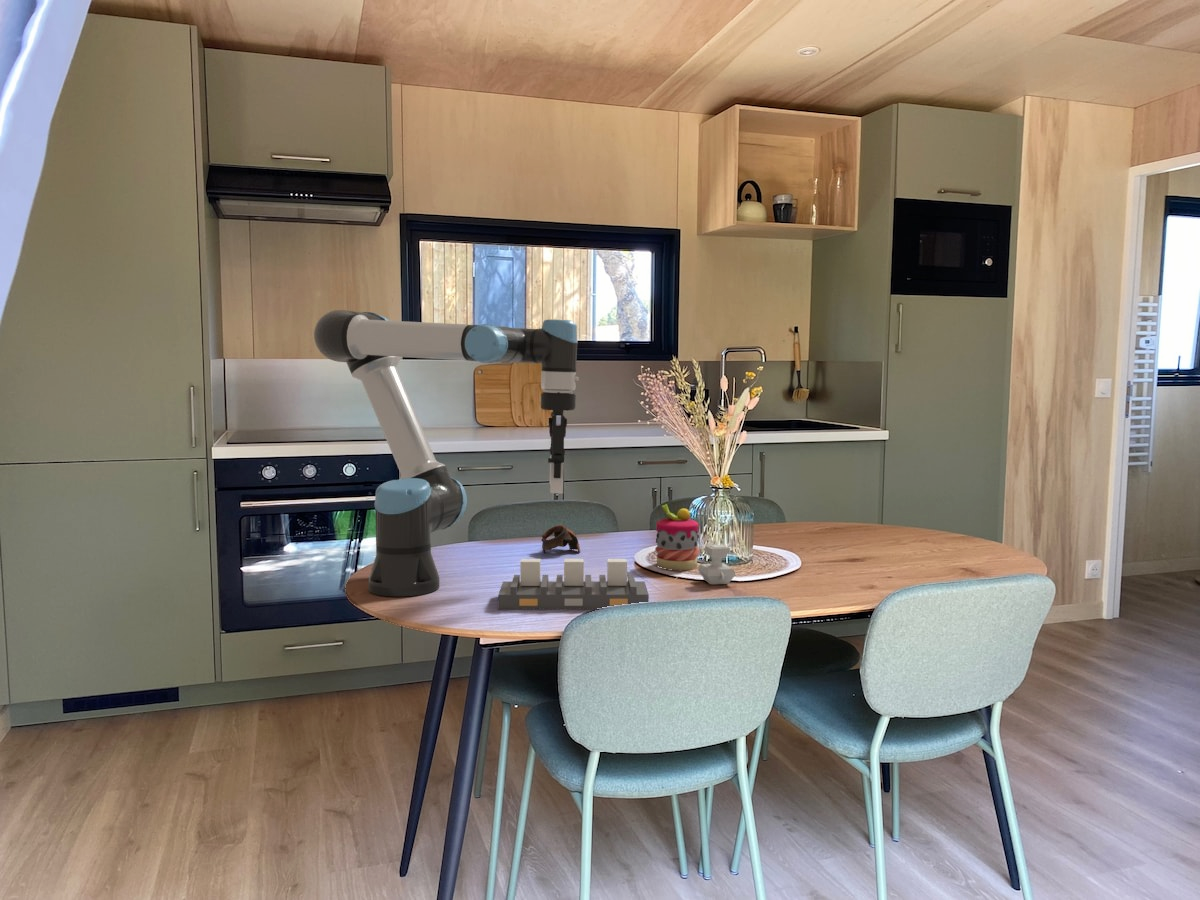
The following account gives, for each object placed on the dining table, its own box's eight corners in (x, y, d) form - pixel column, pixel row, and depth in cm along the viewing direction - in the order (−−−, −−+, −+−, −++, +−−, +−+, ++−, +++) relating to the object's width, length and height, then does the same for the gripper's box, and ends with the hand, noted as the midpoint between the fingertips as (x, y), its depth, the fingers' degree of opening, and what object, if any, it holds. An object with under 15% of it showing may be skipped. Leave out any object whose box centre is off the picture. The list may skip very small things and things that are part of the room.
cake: (695, 561, 223) (696, 502, 221) (701, 571, 212) (702, 508, 211) (653, 561, 223) (654, 502, 221) (657, 571, 212) (658, 508, 211)
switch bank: (498, 609, 177) (498, 587, 177) (503, 595, 189) (502, 574, 188) (648, 609, 178) (648, 587, 178) (644, 595, 189) (644, 574, 189)
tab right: (607, 585, 184) (607, 561, 184) (607, 582, 187) (607, 558, 187) (626, 585, 184) (627, 561, 184) (626, 582, 187) (626, 558, 187)
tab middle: (564, 585, 184) (564, 561, 184) (564, 582, 187) (564, 558, 187) (583, 585, 184) (583, 561, 184) (583, 582, 187) (583, 558, 187)
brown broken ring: (584, 557, 229) (570, 532, 226) (551, 573, 230) (537, 548, 227) (580, 537, 240) (567, 512, 237) (549, 552, 241) (535, 527, 238)
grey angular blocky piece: (695, 579, 204) (696, 542, 204) (723, 577, 206) (723, 541, 205) (708, 588, 196) (709, 550, 195) (737, 587, 197) (738, 549, 196)
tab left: (520, 585, 184) (520, 561, 183) (521, 582, 187) (521, 558, 186) (539, 585, 184) (539, 561, 184) (540, 582, 187) (540, 558, 187)
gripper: (578, 394, 181) (575, 497, 183) (573, 390, 206) (571, 481, 208) (541, 393, 180) (538, 496, 183) (540, 389, 205) (538, 480, 207)
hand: (555, 488), depth 195 cm, fingers open, 13 cm apart
